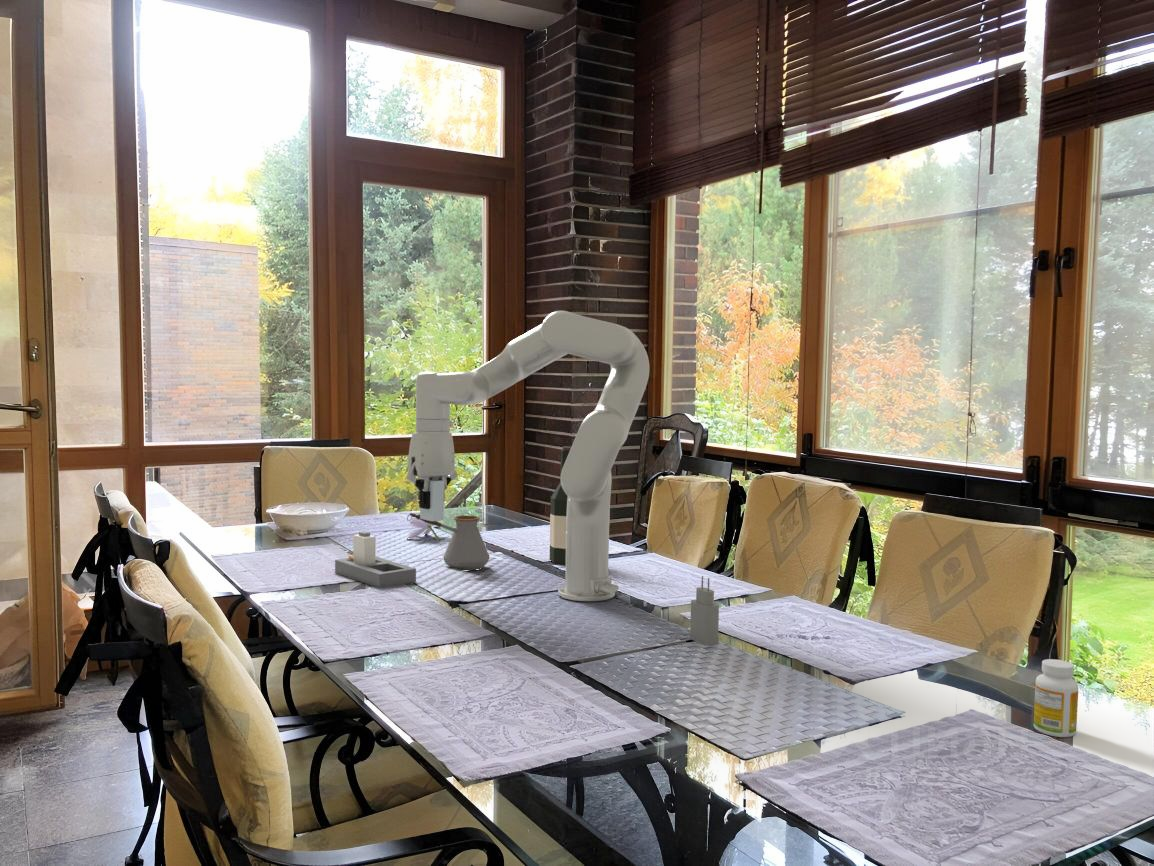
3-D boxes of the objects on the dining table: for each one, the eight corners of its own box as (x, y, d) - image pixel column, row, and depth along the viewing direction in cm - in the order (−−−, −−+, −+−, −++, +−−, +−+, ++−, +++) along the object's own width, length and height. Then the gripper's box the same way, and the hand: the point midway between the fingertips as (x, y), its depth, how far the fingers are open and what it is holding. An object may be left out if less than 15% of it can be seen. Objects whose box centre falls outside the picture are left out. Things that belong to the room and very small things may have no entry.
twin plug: (375, 574, 217) (375, 533, 216) (364, 576, 215) (364, 534, 214) (364, 570, 221) (364, 530, 220) (353, 572, 219) (353, 531, 218)
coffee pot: (476, 562, 238) (477, 504, 237) (497, 570, 228) (498, 510, 227) (398, 570, 226) (398, 509, 225) (416, 579, 217) (417, 516, 216)
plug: (443, 520, 208) (444, 477, 207) (432, 521, 206) (432, 477, 205) (431, 517, 212) (431, 474, 211) (419, 518, 210) (420, 475, 209)
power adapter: (706, 645, 168) (708, 580, 167) (688, 638, 173) (689, 574, 172) (719, 643, 169) (721, 579, 169) (701, 635, 174) (703, 573, 173)
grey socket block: (415, 585, 210) (416, 566, 210) (379, 592, 204) (379, 571, 204) (370, 571, 225) (370, 552, 225) (335, 576, 218) (335, 557, 218)
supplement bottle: (1062, 723, 133) (1066, 657, 132) (1084, 738, 127) (1088, 669, 127) (1025, 723, 133) (1029, 657, 132) (1046, 738, 127) (1049, 669, 127)
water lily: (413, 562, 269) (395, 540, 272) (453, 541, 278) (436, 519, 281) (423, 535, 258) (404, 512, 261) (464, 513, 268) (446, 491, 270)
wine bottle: (581, 565, 236) (583, 448, 234) (548, 564, 236) (550, 447, 234) (581, 558, 244) (583, 446, 243) (550, 558, 245) (552, 445, 243)
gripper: (452, 424, 216) (451, 502, 217) (392, 426, 205) (391, 508, 206) (472, 426, 210) (470, 506, 211) (410, 428, 199) (410, 513, 200)
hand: (431, 506), depth 209 cm, fingers closed on plug, 3 cm apart
